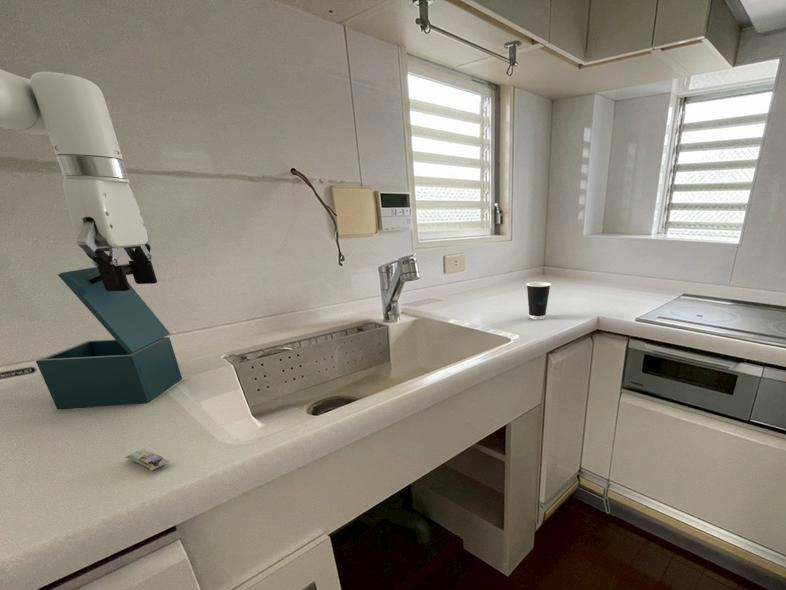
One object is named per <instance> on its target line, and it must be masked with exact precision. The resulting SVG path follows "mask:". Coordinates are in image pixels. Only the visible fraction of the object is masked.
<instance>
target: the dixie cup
mask: <svg viewBox="0 0 786 590" xmlns="http://www.w3.org/2000/svg"><path fill="white" fill-rule="evenodd" d="M525 284H526V290H527V303H528V314H529V318H530V319H532V320H544V319H545V316H546V314H547V308H548V302H549V294H550V290H551V286H552V283H550V282H545V281H532V282H531V281H529V282H526V283H525Z"/></svg>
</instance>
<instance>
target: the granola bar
mask: <svg viewBox="0 0 786 590" xmlns="http://www.w3.org/2000/svg"><path fill="white" fill-rule="evenodd" d="M124 458H125V459H128V460H131V461H133V462H134V463H137V464H138V465H141V466H142V467H145V468H148V469H149V471H154V470H156V469H158V468H161V467H163V466H165V465H166V464H168V463H170V461H171V460H168V459H166V458H165V457H163V456H161V455H158V454H157V453H154V452H152V451H149V450H148V449H145V448H142V449H138V450H136V451H134V452H132V453H130V454H129V455H126V456H124Z"/></svg>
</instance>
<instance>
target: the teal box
mask: <svg viewBox="0 0 786 590" xmlns="http://www.w3.org/2000/svg"><path fill="white" fill-rule="evenodd" d="M35 363H36V365H37V367H38V369H39V372H40V374H41V377H42V378H43V381H44V383H45V385H46V387H47V390H48V392H49V394H50V397H51V399H52V402H53V403H54V405H55V408H56V409H57V410H65V409H67V410H68V409H78V408H79V409H80V408H94V407H108V406H110V407H111V406H122V405H123V406H124V405H136V404H137V405H138V404H148V403H150V402H152V401H153V400H154V399H156V398H157V397H159V396H160V395H161V394H162V393H164V392H165V391H167V390H169V389H170V388H171V387H172V386H174V385H175V384H177V383H179V382H180V381H182V379H183V376H182V373H181V369H180V367H179V363H178V360H177V357H176V354H175V351H174V347H173V343H172V341H171V338H170V336H165V337H163V338H161V339H159V340H157V341H155V342H153V343H151V344H149V345H147V346H145V347H143V348H141V349H139V350H137V351H134V352H132V353H130V354H128V353H127V352H126V351H125V350H124V349H123V347H122V346H121V345H120V344H119V343H118V342H117V341H116V340H115V339H97V340H95V339H93V340H86V341H84V342H80V343H78V344H76V345H73V346H71V347H68V348H66V349H63V350H61V351H58V352H55V353H53V354H50V355H48V356H45V357H42V358H39V359H37V360H35Z"/></svg>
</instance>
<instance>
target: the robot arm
mask: <svg viewBox="0 0 786 590" xmlns="http://www.w3.org/2000/svg"><path fill="white" fill-rule="evenodd" d="M0 128H1V129H5V130H8V131H13V132H16V133H20V134H26V135H33V136H34V135H35V136H38V135H40V136H43V135H48V138H49V140H50V142H51V145H52V147H53V148H52V149H53V151H54V154H55V156H56V159H57V163H58V165H59V168H60V170H61V174H62V176H63V179H62V184H63V185H62V188H63V194H64V198H65V203H66V207H67V211H68V214H69V219H70V222H71V225H72V229H73V231H74V235H75V237H76V244H77V246H78V247H80V249H81V250H83V251H84V253H85V254H86V256H87V257H88V258H90V260H92V264H93V266H95V267H98V270H99V273H100V276H101V278H102V281H103V284H104V287H105V289H106V290H107V291H128V290H130V286H129V284H130V283H129V281H128V278H127V275H126V274H125V271H124V268H123V264H119V249H123V250H124V251H125V253H126V254H127V256H128V257H129V259H130V260H128V264H133V265H134V266H136V268H137V272H136V273H135V274H132V276H133V279H134V282H135V284H137V285H153V284H154V285H155V284H157V283H158V279H157V275H156V273H155V269H154V266H153V263H152V259H153V256H152V254H151V250H152V249H151V242H152V237H151V235H150V234H149V233H148V231H147V228H146V225H145V222H144V219H143V216H142V213H141V210H140V208H139V205H138V202H137V200H136V197H135V195H134V193H133V191H132V189H131V187H130V184H131V180H130V178H129V175H128V172H127V168H126V165H125V162H124V158H123V155H122V151H121V148H120V145H119V142H118V138H117V136H116V132H115V129H114V125H113V121H112V118H111V115H110V112H109V109H108V106H107V102H106V99H105V95H104V94H103V92H102V90H101V89H100V87H99V86H98V85H97V84H95V83H94V82H93V81H91V80H89V79H86V78H84V77H81V76H78V75H73V74H68V73H64V72H55V71H37V72H34V73H33V74H32V75H31V76H30V78H27V77H23V76H20V75H18V74H15V73H12V72H9V71H6V70H4V69H2V68H0ZM107 252H108V253H107Z"/></svg>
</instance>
